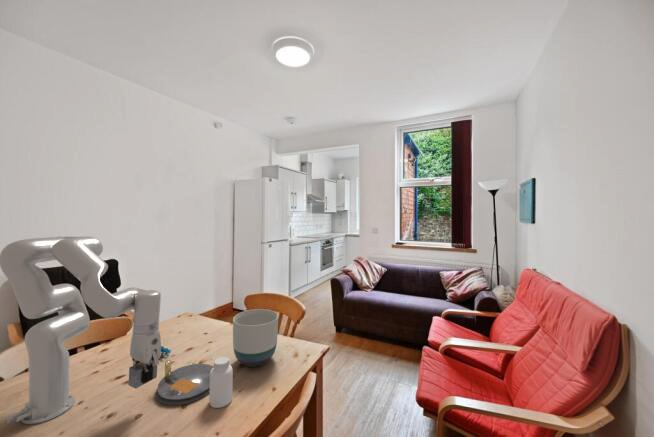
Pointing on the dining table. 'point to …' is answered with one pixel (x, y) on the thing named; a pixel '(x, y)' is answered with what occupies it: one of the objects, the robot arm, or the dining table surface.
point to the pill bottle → (221, 383)
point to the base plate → (178, 403)
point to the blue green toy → (165, 350)
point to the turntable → (184, 382)
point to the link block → (138, 375)
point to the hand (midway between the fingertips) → (143, 378)
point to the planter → (255, 336)
